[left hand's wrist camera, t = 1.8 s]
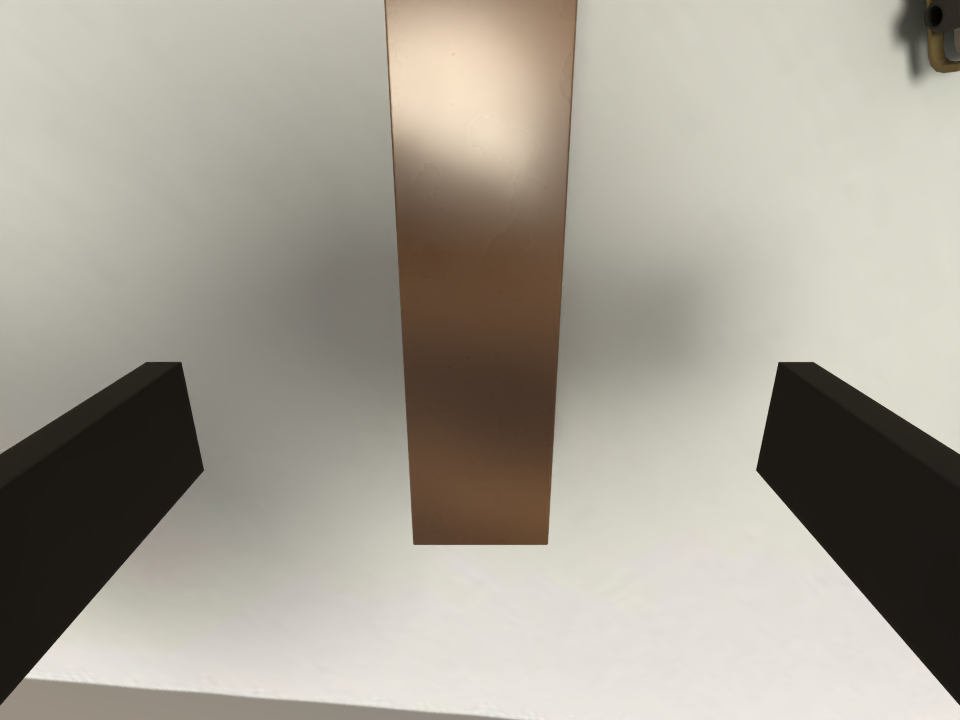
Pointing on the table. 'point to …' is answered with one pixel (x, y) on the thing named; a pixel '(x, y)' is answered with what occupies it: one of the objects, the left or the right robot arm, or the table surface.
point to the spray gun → (942, 32)
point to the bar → (480, 256)
